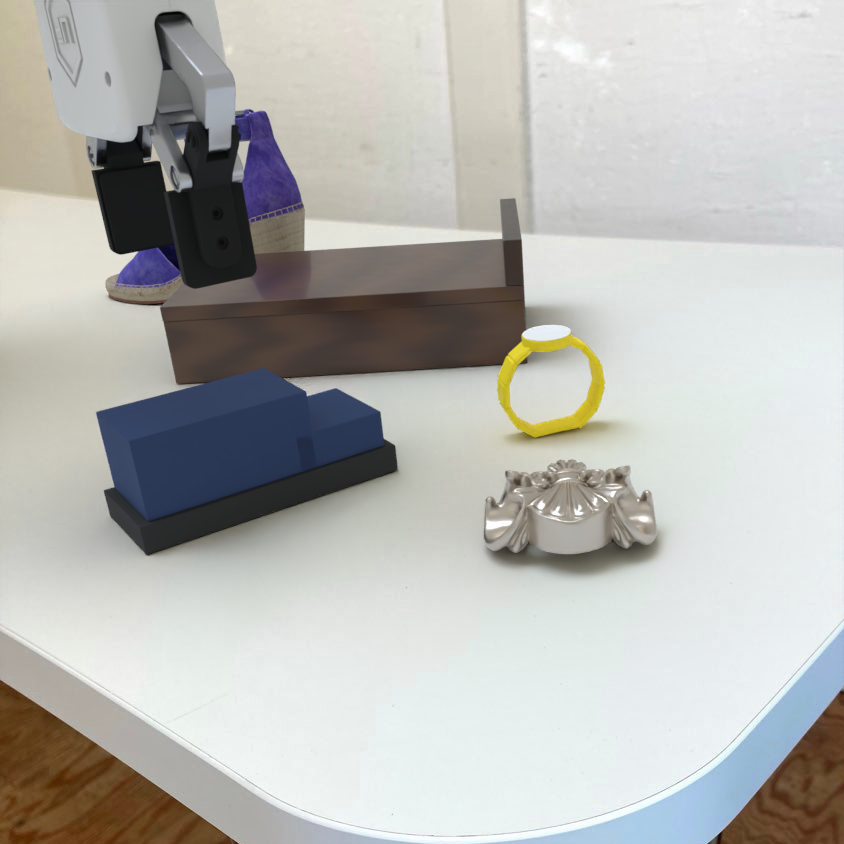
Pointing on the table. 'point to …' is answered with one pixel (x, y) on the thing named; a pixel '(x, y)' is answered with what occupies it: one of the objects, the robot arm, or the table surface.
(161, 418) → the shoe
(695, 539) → the table surface
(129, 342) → the table surface
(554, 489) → the ornament
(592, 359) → the watch
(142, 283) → the sandal
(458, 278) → the wooden riser with lip
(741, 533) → the table surface
